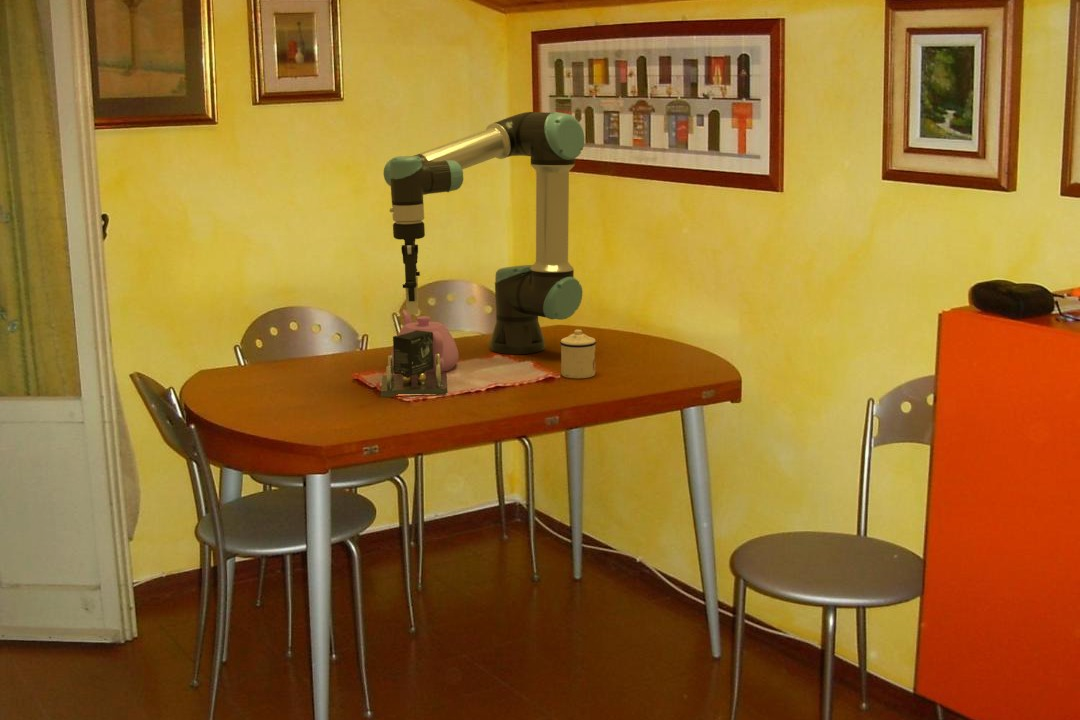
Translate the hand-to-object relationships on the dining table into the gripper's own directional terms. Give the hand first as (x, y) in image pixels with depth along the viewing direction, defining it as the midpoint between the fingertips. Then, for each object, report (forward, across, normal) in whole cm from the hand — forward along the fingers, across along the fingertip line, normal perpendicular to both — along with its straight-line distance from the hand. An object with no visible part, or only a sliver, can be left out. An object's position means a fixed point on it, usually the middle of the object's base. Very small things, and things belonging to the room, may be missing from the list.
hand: (412, 308), depth 322 cm
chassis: (+20, 0, -1) cm, 20 cm away
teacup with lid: (+21, -8, +40) cm, 46 cm away
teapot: (+20, -22, +1) cm, 30 cm away
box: (+16, 0, 0) cm, 16 cm away
